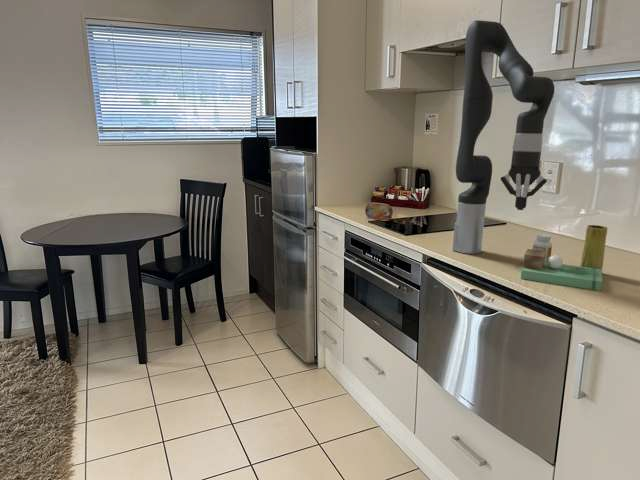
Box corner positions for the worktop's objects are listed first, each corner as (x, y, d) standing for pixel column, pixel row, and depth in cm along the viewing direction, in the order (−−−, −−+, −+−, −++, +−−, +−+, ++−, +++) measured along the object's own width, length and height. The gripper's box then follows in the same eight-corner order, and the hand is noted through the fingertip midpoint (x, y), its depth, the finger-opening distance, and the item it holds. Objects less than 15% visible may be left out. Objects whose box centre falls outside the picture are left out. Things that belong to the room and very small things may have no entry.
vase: (580, 274, 141) (587, 227, 138) (577, 269, 146) (584, 224, 143) (603, 276, 139) (611, 229, 136) (599, 271, 144) (607, 225, 141)
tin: (364, 218, 226) (365, 201, 224) (369, 217, 228) (369, 200, 226) (389, 223, 215) (389, 205, 213) (393, 222, 217) (394, 204, 215)
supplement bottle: (544, 262, 153) (547, 233, 151) (552, 267, 148) (556, 237, 145) (527, 262, 153) (531, 233, 150) (535, 267, 147) (539, 237, 145)
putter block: (522, 267, 138) (524, 254, 137) (526, 261, 144) (527, 248, 144) (541, 270, 135) (543, 256, 134) (544, 264, 142) (545, 251, 141)
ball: (546, 269, 136) (547, 255, 136) (547, 266, 140) (548, 253, 139) (561, 271, 135) (563, 257, 134) (562, 268, 138) (564, 254, 137)
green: (520, 278, 136) (521, 270, 135) (526, 267, 148) (527, 259, 147) (600, 290, 126) (602, 281, 126) (600, 277, 138) (601, 269, 137)
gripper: (553, 150, 135) (545, 210, 139) (504, 148, 141) (498, 206, 145) (551, 151, 129) (543, 213, 132) (500, 149, 135) (494, 209, 139)
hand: (520, 209), depth 139 cm, fingers closed
